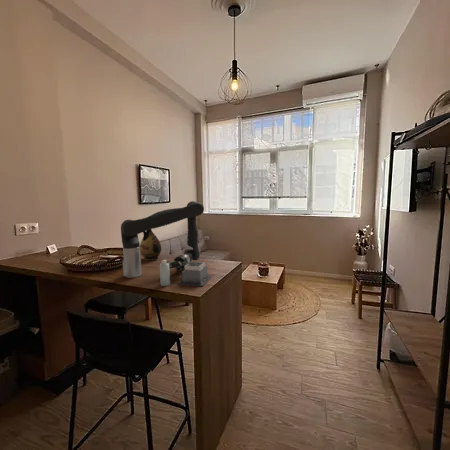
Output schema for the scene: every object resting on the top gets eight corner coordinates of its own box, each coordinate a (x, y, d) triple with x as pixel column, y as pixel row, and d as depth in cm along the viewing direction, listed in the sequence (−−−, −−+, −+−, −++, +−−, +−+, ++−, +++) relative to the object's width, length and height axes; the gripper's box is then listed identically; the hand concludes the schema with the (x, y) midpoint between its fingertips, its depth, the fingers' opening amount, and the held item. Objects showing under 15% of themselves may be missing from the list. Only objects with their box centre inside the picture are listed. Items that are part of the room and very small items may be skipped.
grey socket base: (177, 285, 131) (176, 267, 129) (189, 275, 146) (188, 259, 145) (202, 286, 127) (202, 269, 126) (211, 276, 143) (211, 260, 142)
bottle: (158, 285, 130) (157, 261, 129) (163, 282, 135) (162, 259, 134) (167, 286, 129) (166, 261, 128) (171, 282, 134) (170, 259, 132)
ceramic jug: (154, 255, 197) (152, 217, 193) (166, 258, 186) (163, 218, 183) (134, 260, 184) (131, 219, 180) (145, 263, 174) (142, 220, 170)
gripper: (170, 254, 154) (158, 261, 139) (192, 255, 151) (181, 262, 135) (171, 266, 155) (158, 274, 140) (193, 267, 152) (182, 276, 136)
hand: (170, 268), depth 138 cm, fingers open, 8 cm apart
